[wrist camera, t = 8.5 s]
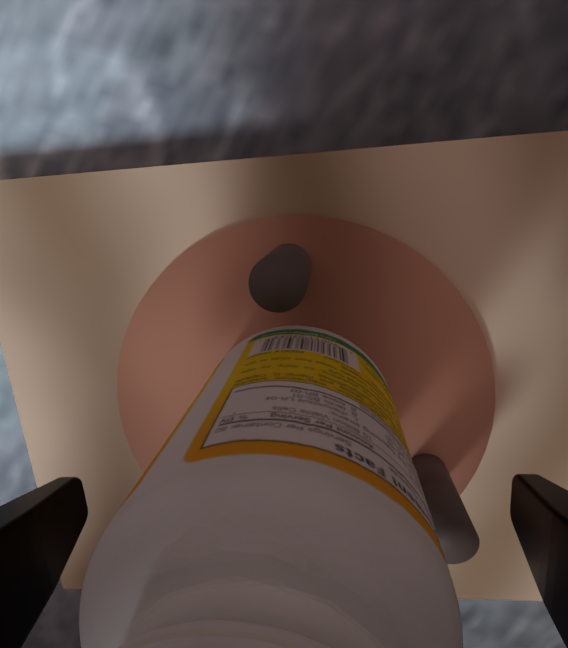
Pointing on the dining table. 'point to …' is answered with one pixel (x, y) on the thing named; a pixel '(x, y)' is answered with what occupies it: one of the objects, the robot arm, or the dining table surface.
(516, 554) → the pin board
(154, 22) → the dining table surface
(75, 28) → the dining table surface
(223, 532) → the supplement bottle
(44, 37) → the dining table surface
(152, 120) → the dining table surface
